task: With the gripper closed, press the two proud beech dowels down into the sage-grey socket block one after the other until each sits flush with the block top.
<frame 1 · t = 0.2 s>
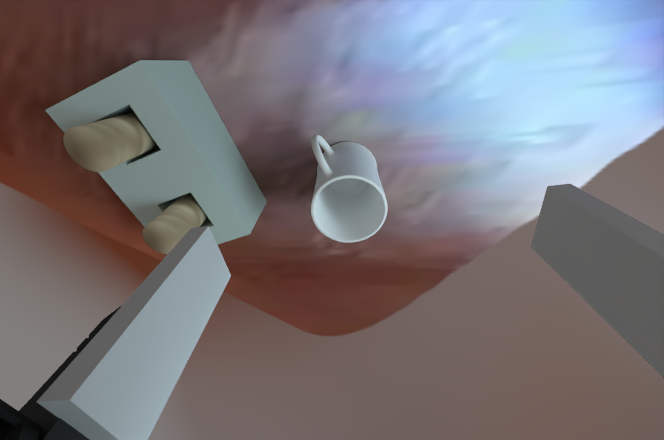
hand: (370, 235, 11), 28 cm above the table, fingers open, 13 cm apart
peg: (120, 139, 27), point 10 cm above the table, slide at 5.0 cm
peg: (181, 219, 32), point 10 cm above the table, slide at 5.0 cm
mug: (342, 160, 38), on the table
socket block: (196, 155, 38), on the table
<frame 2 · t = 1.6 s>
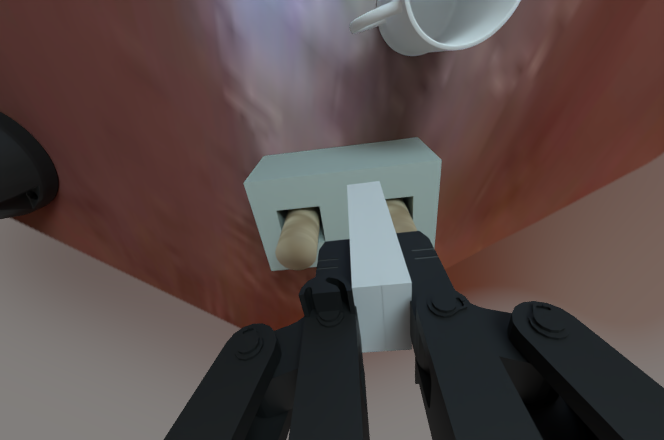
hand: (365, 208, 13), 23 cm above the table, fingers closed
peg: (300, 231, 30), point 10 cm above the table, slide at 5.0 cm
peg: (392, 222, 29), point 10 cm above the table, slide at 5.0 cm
mug: (401, 11, 28), on the table
socket block: (343, 189, 38), on the table
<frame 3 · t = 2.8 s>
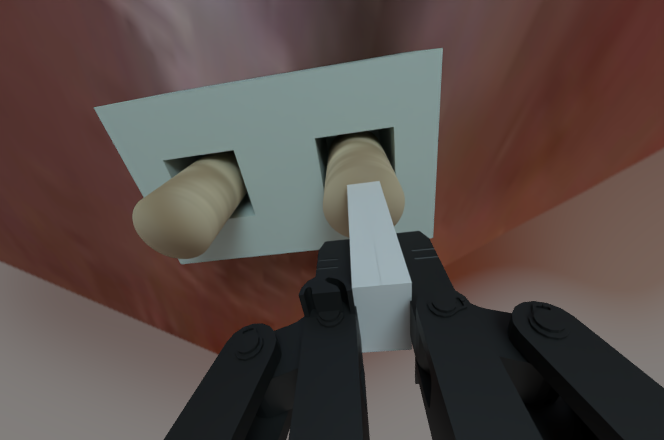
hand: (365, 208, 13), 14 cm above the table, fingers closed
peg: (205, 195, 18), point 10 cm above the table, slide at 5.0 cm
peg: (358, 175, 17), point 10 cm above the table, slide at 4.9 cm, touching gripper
socket block: (300, 143, 26), on the table
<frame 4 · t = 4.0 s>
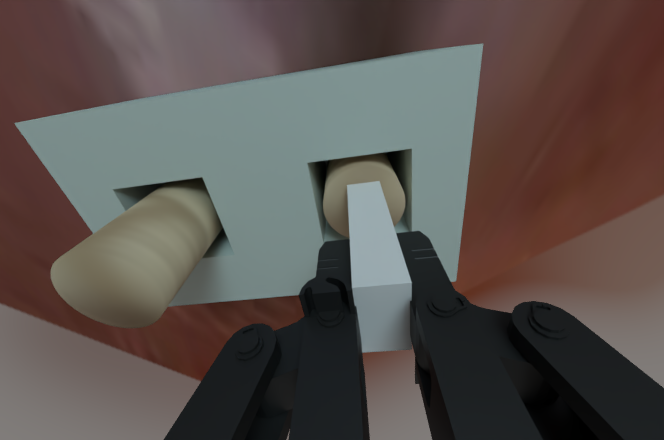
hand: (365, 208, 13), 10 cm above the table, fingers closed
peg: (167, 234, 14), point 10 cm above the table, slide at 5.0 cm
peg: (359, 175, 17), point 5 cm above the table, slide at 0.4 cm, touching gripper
socket block: (293, 158, 22), on the table
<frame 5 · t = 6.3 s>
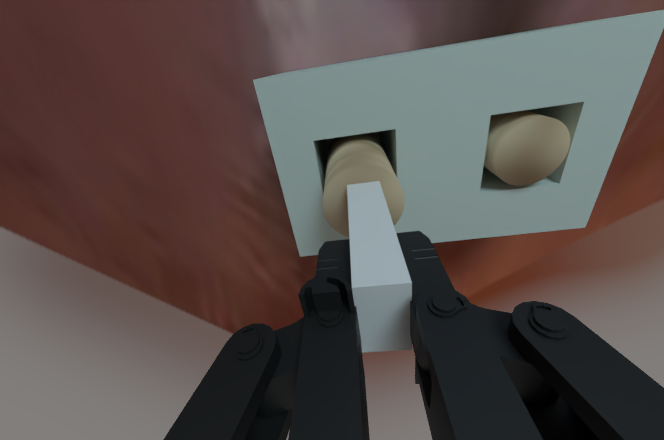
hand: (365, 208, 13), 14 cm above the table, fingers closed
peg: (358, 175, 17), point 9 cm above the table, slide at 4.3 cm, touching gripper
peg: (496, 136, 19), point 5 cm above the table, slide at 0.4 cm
socket block: (407, 129, 24), on the table
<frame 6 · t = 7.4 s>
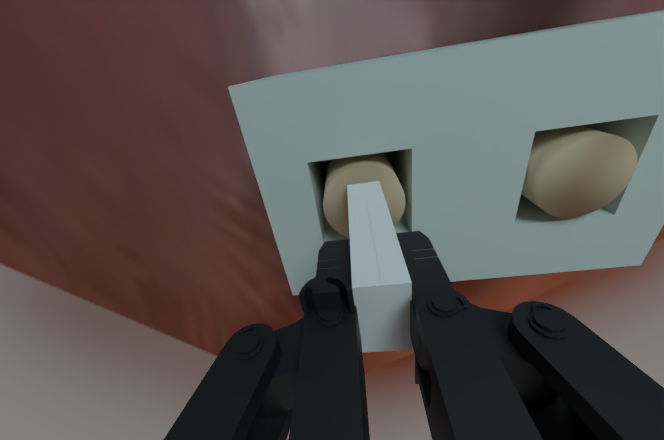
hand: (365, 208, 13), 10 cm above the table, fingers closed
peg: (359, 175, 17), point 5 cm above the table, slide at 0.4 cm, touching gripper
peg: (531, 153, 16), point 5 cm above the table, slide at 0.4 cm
socket block: (419, 141, 21), on the table
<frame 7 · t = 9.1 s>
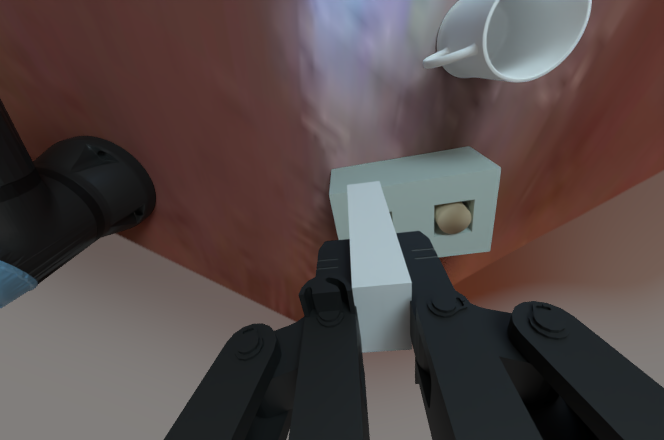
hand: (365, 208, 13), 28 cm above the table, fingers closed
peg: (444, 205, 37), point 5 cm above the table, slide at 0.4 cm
mug: (458, 42, 32), on the table
socket block: (400, 194, 43), on the table
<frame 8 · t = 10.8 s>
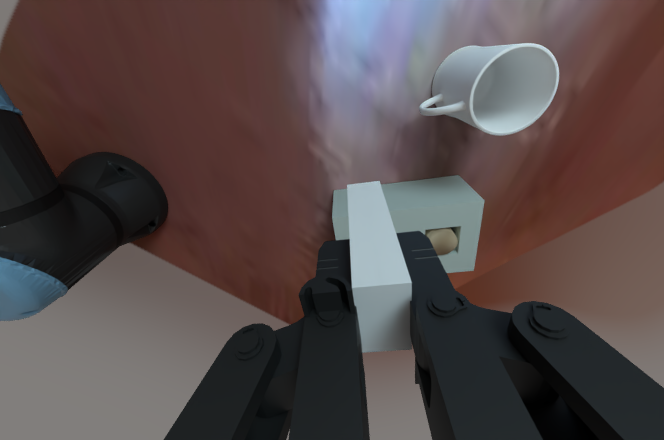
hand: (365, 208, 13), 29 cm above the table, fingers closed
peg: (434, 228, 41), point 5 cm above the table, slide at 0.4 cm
mug: (451, 86, 37), on the table
socket block: (395, 214, 47), on the table
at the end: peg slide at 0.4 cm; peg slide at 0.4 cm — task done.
